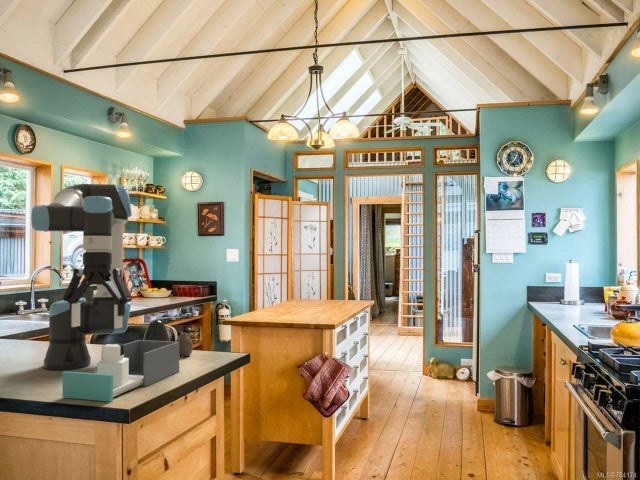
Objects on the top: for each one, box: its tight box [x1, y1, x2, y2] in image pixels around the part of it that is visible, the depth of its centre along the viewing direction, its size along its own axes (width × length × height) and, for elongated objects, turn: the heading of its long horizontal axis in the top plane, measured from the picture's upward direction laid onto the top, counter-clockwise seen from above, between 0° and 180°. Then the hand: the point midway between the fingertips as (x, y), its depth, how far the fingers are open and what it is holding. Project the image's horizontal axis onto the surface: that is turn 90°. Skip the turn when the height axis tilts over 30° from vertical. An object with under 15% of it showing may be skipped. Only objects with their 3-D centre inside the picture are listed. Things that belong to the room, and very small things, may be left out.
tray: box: [61, 370, 144, 403], centre depth 159 cm, size 15×20×7 cm
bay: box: [101, 339, 180, 388], centre depth 175 cm, size 15×20×10 cm
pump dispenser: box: [142, 319, 171, 342], centre depth 200 cm, size 10×10×15 cm
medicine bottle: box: [96, 342, 129, 387], centre depth 161 cm, size 7×7×12 cm
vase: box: [175, 332, 194, 358], centre depth 209 cm, size 7×7×9 cm
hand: (96, 327), depth 153 cm, fingers open, 13 cm apart
